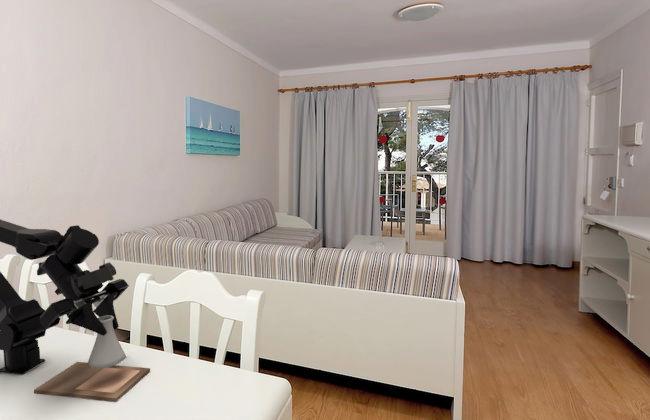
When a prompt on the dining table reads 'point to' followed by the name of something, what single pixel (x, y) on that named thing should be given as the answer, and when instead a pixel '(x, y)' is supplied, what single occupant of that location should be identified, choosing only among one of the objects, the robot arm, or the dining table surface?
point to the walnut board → (93, 382)
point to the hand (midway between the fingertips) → (111, 331)
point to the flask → (106, 347)
